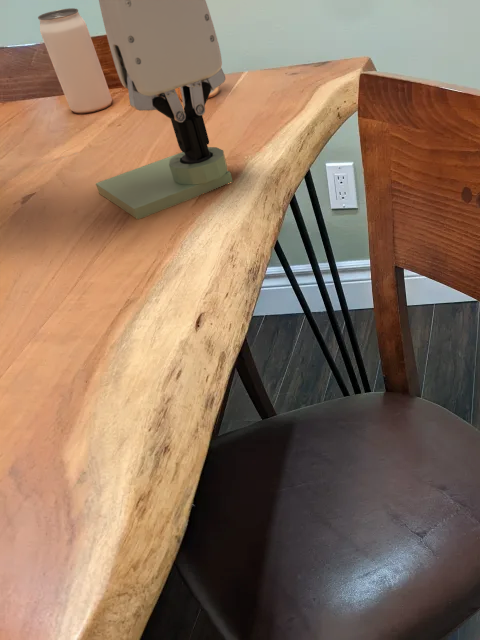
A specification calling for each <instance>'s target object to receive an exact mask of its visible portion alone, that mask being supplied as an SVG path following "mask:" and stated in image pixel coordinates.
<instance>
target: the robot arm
mask: <svg viewBox="0 0 480 640" xmlns="http://www.w3.org/2000/svg"><path fill="white" fill-rule="evenodd" d="M98 4H99V8H100V12H101V18H102V22H103V25H104V29H105V30H104V31H105V35H106V38H107V43H108V45H109V50H110V53H111V57H112V60H113V63H114V68H115V70H116V73H117V77H118V79H119V80H120V81H119V82H120V83H121V85H122V86H123V87H124V88H125V89H127V91H128V99H129V100H128V101H129V105H130V107H131V108H132V109H134V110H137V111H157V112H159V113H161V114H162V115H164V116H165V117H166V118H168V119H169V120H170V122H171V125H172V128H173V131H174V135H175V138H176V141H177V146H178V148H179V150H180V151H181V152H184V153H185V155H187V156H189V157H191V158H193V159H195V160H199V159H201V157H202V156H204V157H207V156H209V155H210V154H209V150H208V147H209V146H208V145H210V138H209V135H208V131H207V128H206V123H205V120H204V117H203V115H205V113H206V103H207V101H208V99H209V98H208V97H209V94H210V92H211V91H212V90H214V89H215V88H217V87H218V88H219V87H220V86H221V85H223V84H224V83H225V81H226V75H225V72H224V70H223V67H222V66H223V60H222V54H221V48H220V44H219V40H218V36H217V33H216V30H215V26H214V23H213V19H212V16H211V13H210V9H209V6H208V3H207V1H206V0H98ZM179 87H181V93H182V100H183V101H182V100H181V99H180V98H179V94H177V93H178V92H177V91H176V89H178V88H179ZM181 101H182V103H181Z"/></svg>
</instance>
